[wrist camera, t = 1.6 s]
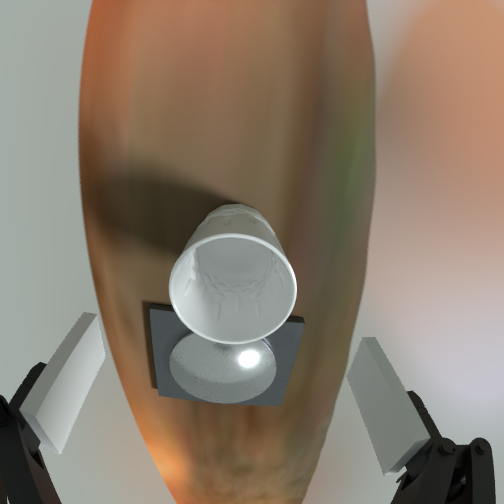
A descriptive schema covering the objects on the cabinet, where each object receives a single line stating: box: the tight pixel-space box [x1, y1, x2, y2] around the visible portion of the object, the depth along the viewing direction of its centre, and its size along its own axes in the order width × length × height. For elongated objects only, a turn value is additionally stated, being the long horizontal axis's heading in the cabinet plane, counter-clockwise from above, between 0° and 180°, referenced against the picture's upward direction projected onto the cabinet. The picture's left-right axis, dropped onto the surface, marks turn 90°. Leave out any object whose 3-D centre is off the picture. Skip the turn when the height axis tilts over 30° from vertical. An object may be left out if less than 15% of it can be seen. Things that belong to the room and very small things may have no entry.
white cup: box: [169, 204, 297, 344], centre depth 23 cm, size 8×8×10 cm
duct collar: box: [150, 304, 305, 406], centre depth 32 cm, size 14×16×2 cm
